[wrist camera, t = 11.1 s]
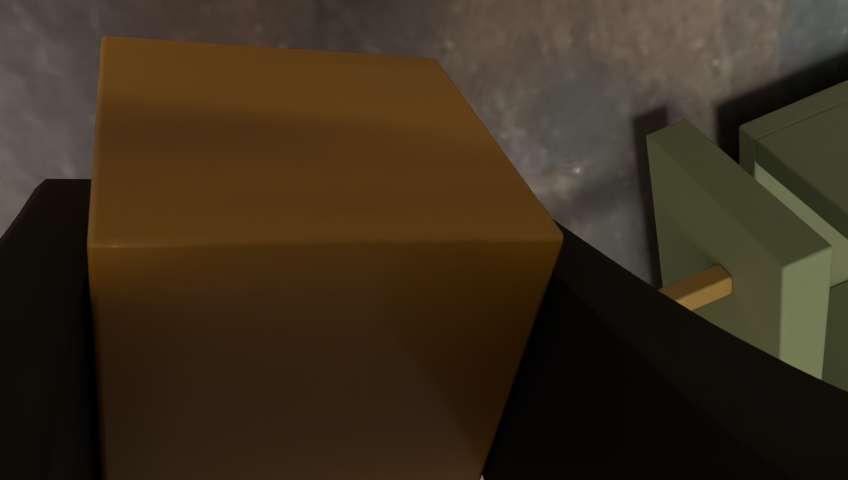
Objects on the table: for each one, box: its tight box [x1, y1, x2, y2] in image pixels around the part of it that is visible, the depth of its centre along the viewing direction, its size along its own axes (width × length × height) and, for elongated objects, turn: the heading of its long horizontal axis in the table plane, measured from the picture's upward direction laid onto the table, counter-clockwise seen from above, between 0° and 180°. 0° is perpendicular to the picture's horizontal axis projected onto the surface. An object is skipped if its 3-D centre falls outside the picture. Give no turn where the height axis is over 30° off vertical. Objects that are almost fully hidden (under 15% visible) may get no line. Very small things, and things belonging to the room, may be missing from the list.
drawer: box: [646, 80, 848, 392], centre depth 22 cm, size 16×9×6 cm, turn 106°
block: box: [87, 36, 563, 480], centre depth 9 cm, size 4×4×4 cm
